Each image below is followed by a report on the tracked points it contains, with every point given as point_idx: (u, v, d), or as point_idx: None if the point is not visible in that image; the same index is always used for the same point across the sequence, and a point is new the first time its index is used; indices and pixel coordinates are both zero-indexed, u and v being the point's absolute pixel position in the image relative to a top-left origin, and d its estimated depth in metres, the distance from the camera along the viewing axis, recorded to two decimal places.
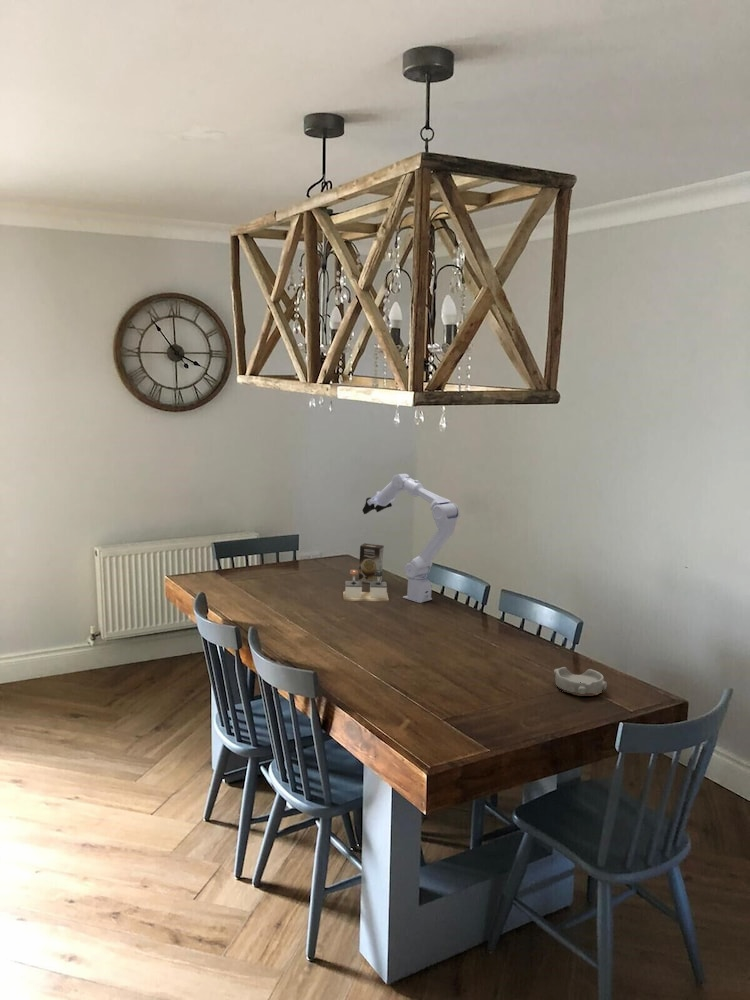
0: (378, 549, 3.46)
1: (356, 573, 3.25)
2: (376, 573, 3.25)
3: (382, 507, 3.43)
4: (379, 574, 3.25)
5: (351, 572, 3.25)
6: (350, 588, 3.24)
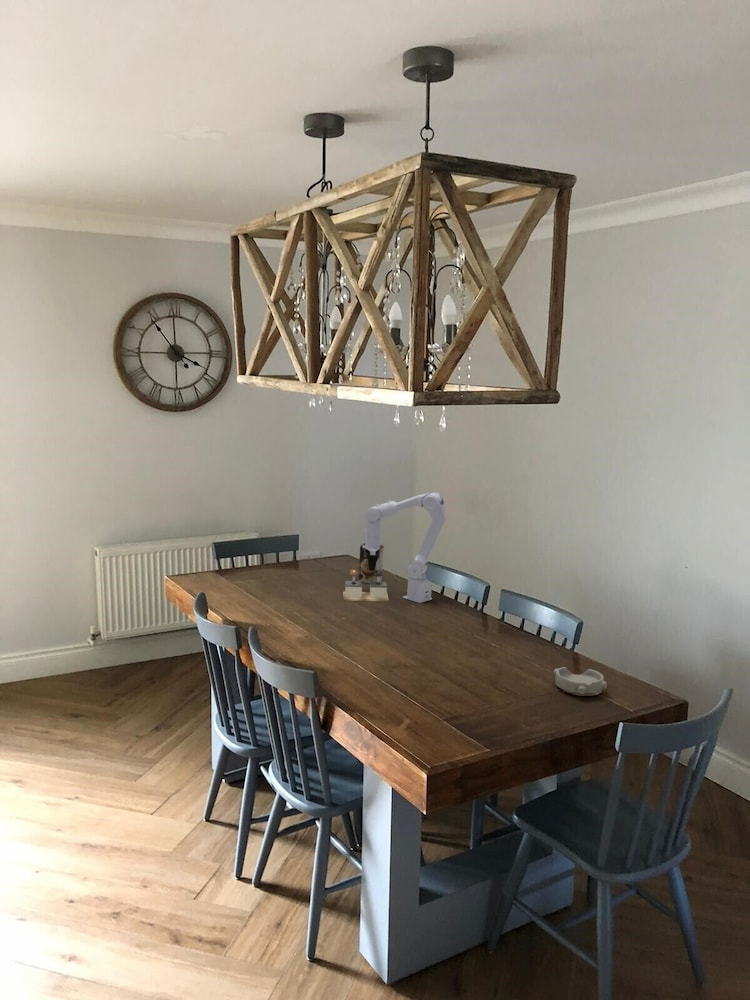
0: None
1: (356, 573, 3.25)
2: (376, 573, 3.25)
3: None
4: (379, 574, 3.25)
5: (351, 572, 3.25)
6: (350, 588, 3.24)
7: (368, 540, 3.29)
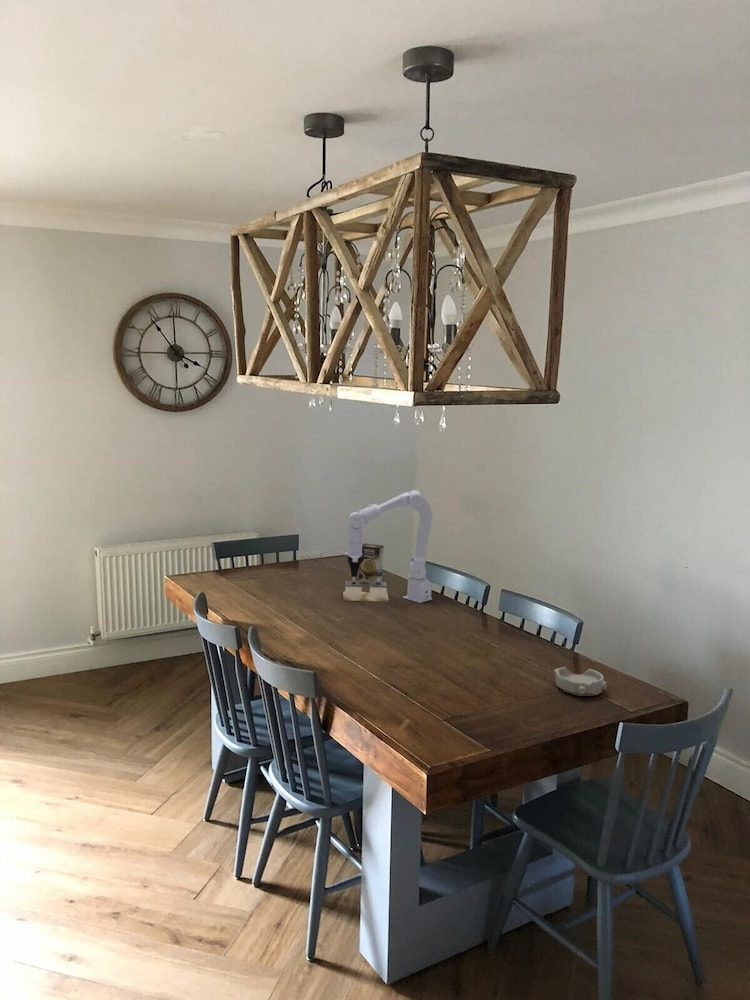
0: (378, 549, 3.46)
1: None
2: (376, 573, 3.25)
3: None
4: (379, 574, 3.25)
5: None
6: (350, 588, 3.24)
7: (350, 547, 3.22)
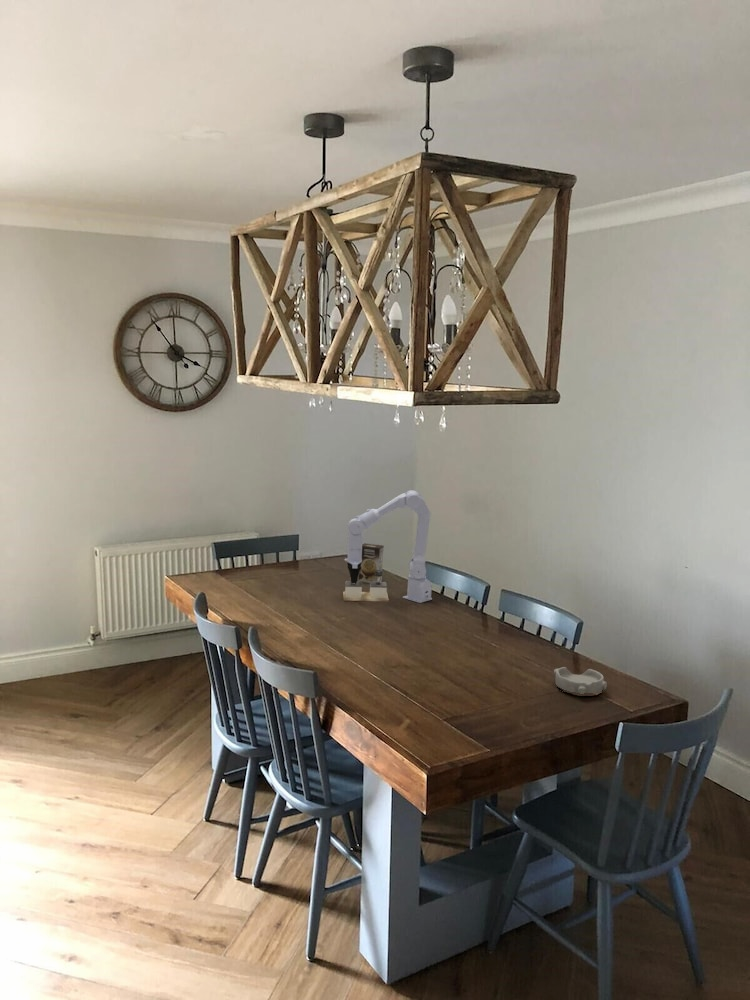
0: (378, 549, 3.46)
1: None
2: (376, 573, 3.25)
3: None
4: (379, 574, 3.25)
5: None
6: (350, 588, 3.24)
7: (350, 553, 3.23)
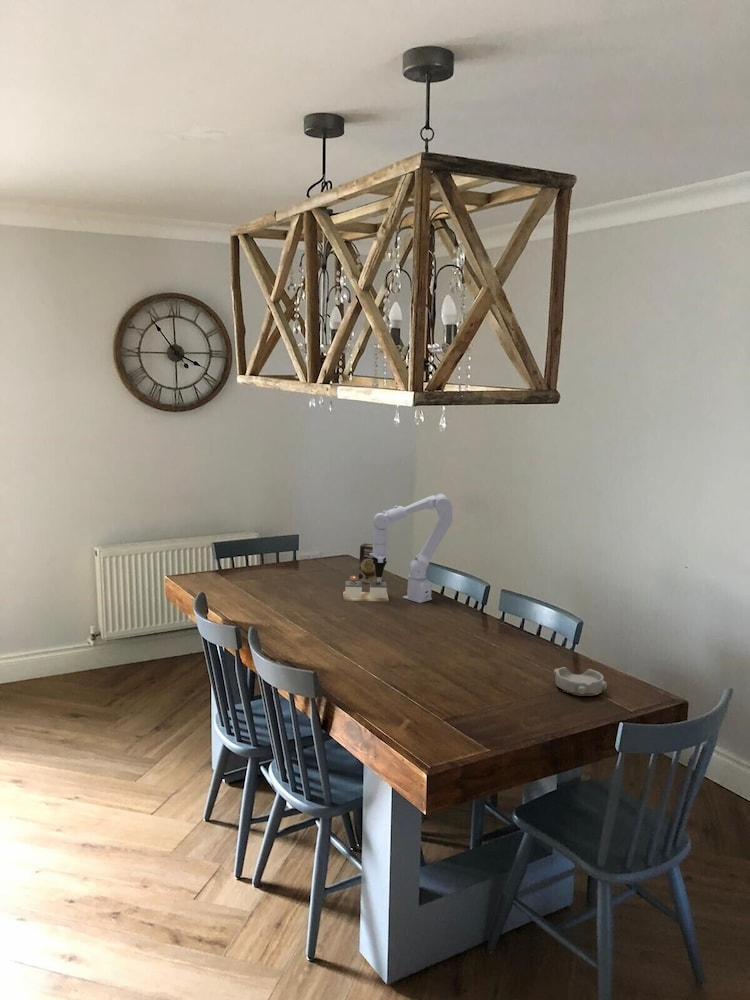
0: None
1: (356, 579, 3.25)
2: None
3: None
4: None
5: (351, 578, 3.25)
6: (350, 588, 3.24)
7: (375, 547, 3.23)
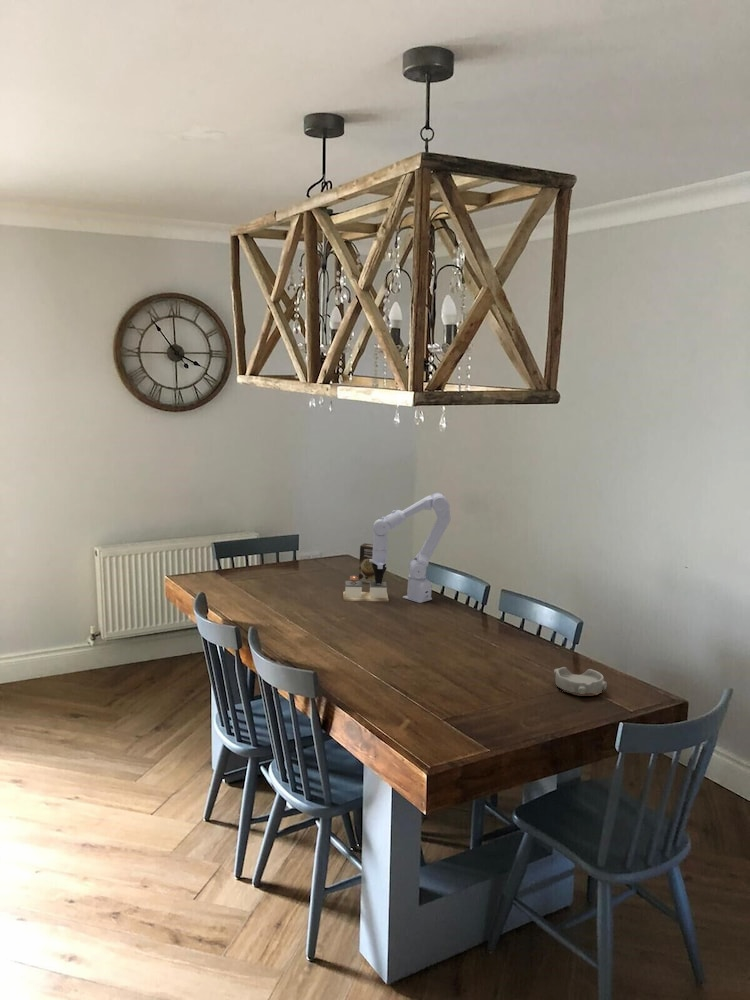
0: None
1: (356, 579, 3.25)
2: None
3: None
4: None
5: (351, 578, 3.25)
6: (350, 588, 3.24)
7: (375, 554, 3.23)
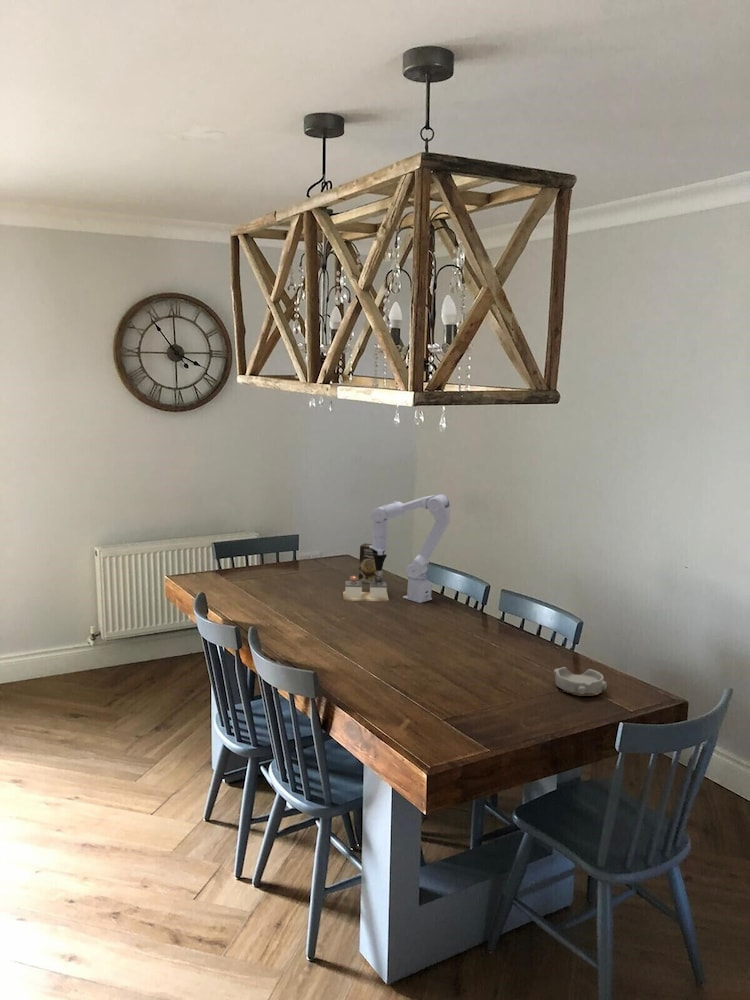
0: None
1: (356, 579, 3.25)
2: (376, 579, 3.26)
3: None
4: (379, 580, 3.26)
5: (351, 578, 3.25)
6: (350, 588, 3.24)
7: (375, 540, 3.30)
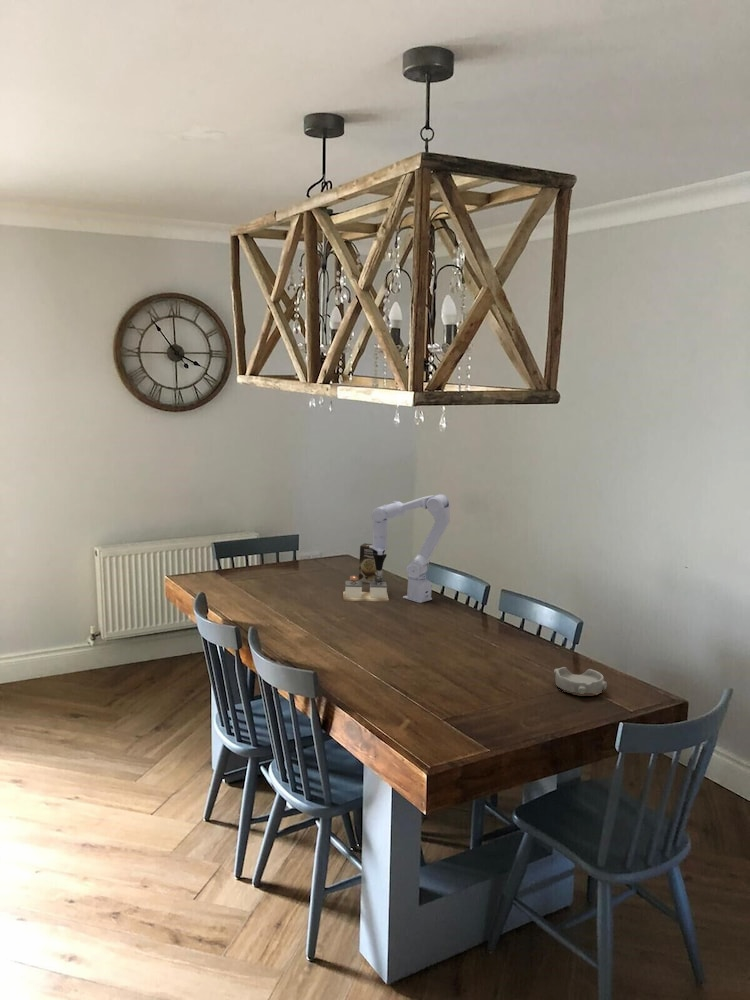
0: None
1: (356, 579, 3.25)
2: (376, 579, 3.26)
3: None
4: (379, 580, 3.26)
5: (351, 578, 3.25)
6: (350, 588, 3.24)
7: (375, 540, 3.30)
